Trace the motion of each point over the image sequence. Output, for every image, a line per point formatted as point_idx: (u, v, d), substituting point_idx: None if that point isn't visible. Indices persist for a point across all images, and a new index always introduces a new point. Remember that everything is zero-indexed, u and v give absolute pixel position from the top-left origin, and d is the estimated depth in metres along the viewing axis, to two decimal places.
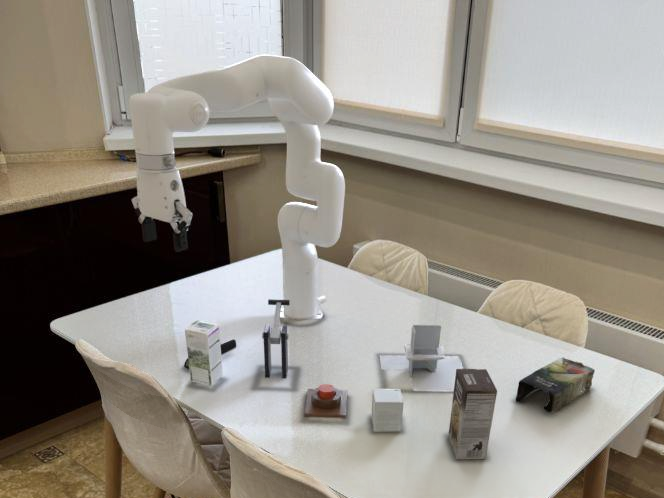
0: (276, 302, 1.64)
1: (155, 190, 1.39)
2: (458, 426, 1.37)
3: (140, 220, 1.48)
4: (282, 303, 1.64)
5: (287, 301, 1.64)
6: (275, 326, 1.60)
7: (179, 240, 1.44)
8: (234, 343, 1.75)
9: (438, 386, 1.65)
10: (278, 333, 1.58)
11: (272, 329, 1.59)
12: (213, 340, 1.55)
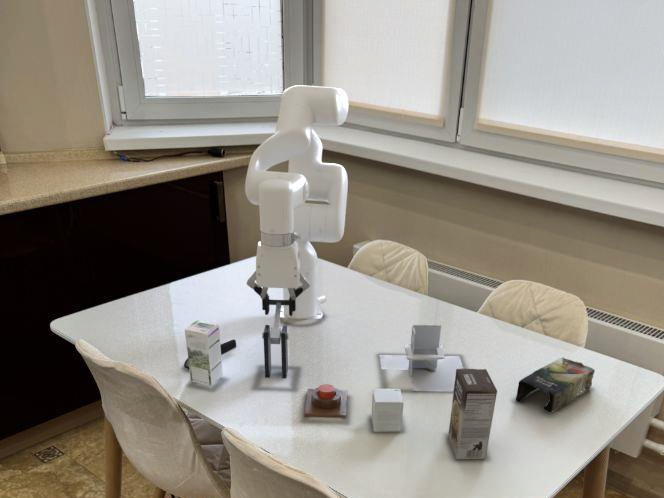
0: (276, 302, 1.64)
1: (284, 263, 1.57)
2: (458, 426, 1.37)
3: (262, 297, 1.62)
4: (282, 303, 1.64)
5: (287, 301, 1.64)
6: (275, 326, 1.60)
7: (293, 305, 1.64)
8: (234, 343, 1.75)
9: (439, 386, 1.65)
10: (278, 333, 1.58)
11: (272, 329, 1.59)
12: (213, 340, 1.55)
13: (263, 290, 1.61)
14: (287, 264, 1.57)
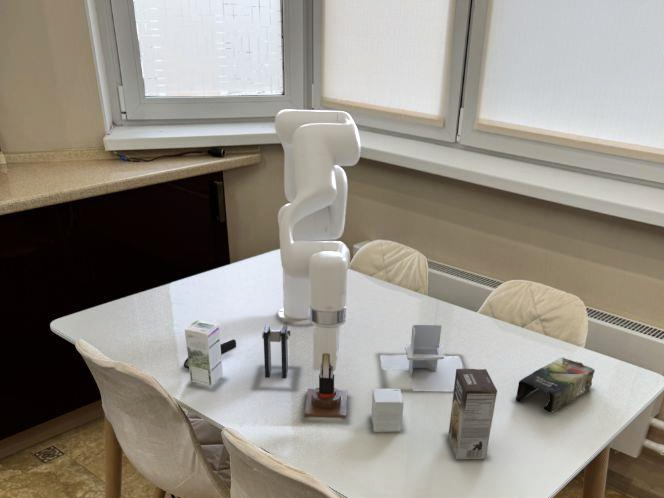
0: (277, 331, 1.69)
1: None
2: (458, 426, 1.37)
3: None
4: None
5: None
6: None
7: None
8: (234, 343, 1.75)
9: (439, 386, 1.65)
10: None
11: (273, 330, 1.60)
12: (213, 340, 1.55)
13: (332, 371, 1.47)
14: None
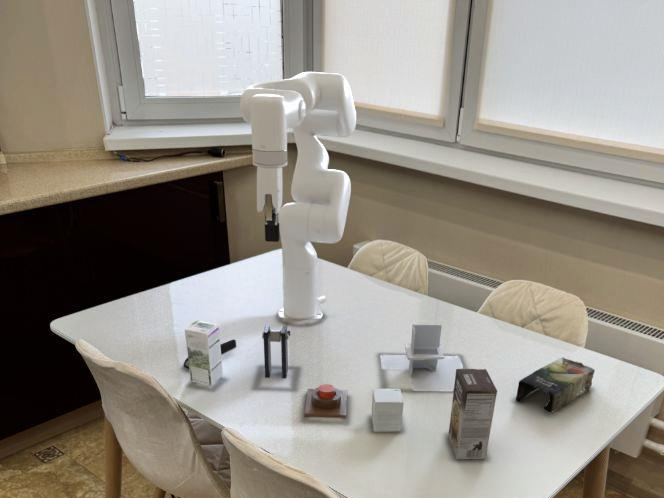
0: (277, 331, 1.69)
1: (282, 179, 1.55)
2: (458, 426, 1.37)
3: (276, 223, 1.57)
4: None
5: None
6: None
7: None
8: (234, 343, 1.75)
9: (439, 386, 1.65)
10: None
11: (273, 330, 1.60)
12: (213, 340, 1.55)
13: (276, 216, 1.56)
14: (282, 180, 1.56)
